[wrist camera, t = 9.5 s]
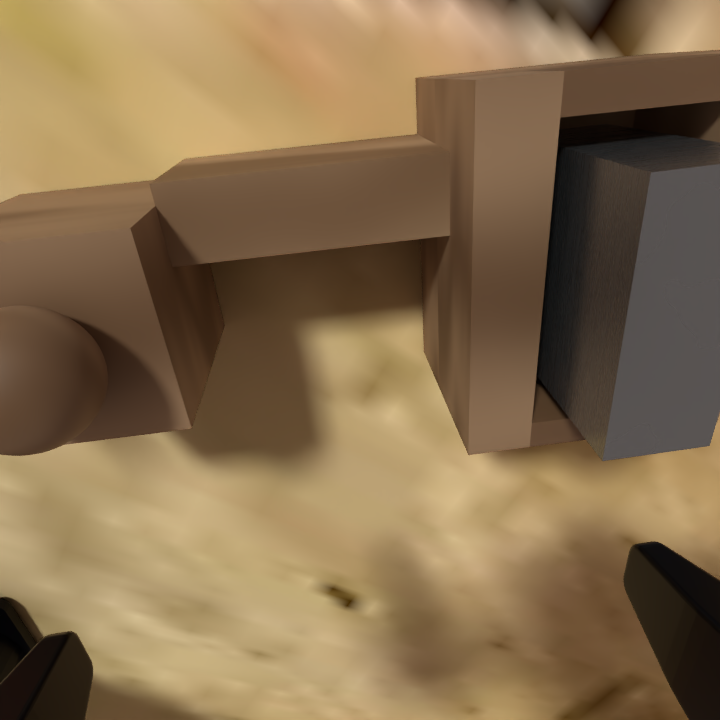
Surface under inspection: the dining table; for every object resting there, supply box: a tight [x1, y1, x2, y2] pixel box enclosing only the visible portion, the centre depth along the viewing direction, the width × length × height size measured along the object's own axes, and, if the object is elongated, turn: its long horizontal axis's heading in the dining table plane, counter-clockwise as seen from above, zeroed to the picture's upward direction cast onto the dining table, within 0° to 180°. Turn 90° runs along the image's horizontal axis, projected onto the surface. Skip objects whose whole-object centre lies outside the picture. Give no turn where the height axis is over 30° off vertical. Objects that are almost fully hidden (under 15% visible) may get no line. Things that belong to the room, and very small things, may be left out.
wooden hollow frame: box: [0, 50, 720, 456], centre depth 13 cm, size 9×19×9 cm, turn 95°
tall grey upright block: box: [536, 124, 720, 461], centre depth 12 cm, size 6×2×6 cm, turn 6°
